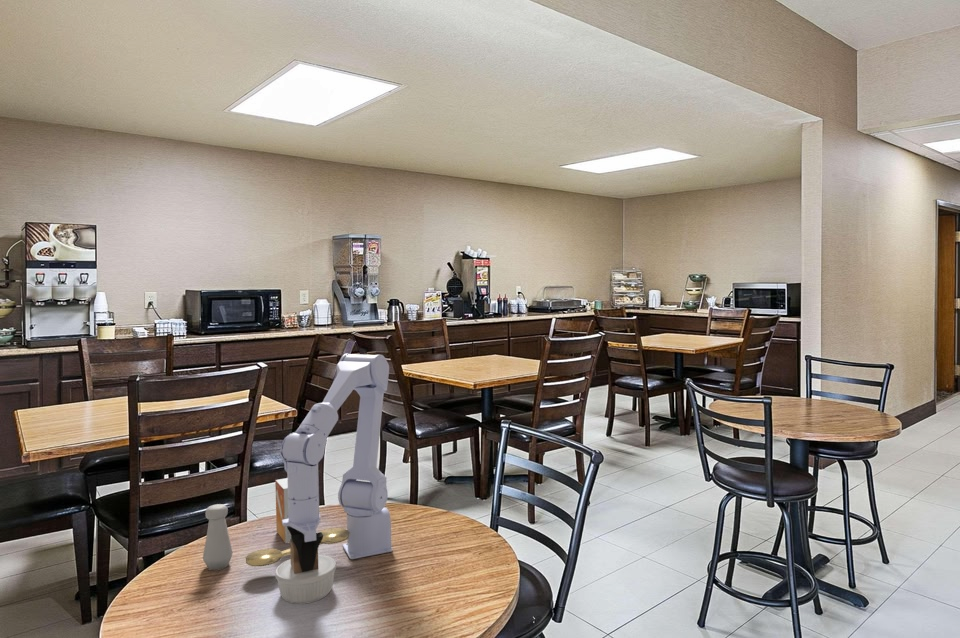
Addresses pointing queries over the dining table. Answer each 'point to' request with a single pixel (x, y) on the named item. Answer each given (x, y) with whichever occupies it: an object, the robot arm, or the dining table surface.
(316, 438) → the robot arm
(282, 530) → the small box
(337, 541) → the balance
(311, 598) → the ramekin
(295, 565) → the block
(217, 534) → the salt shaker
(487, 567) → the dining table surface
